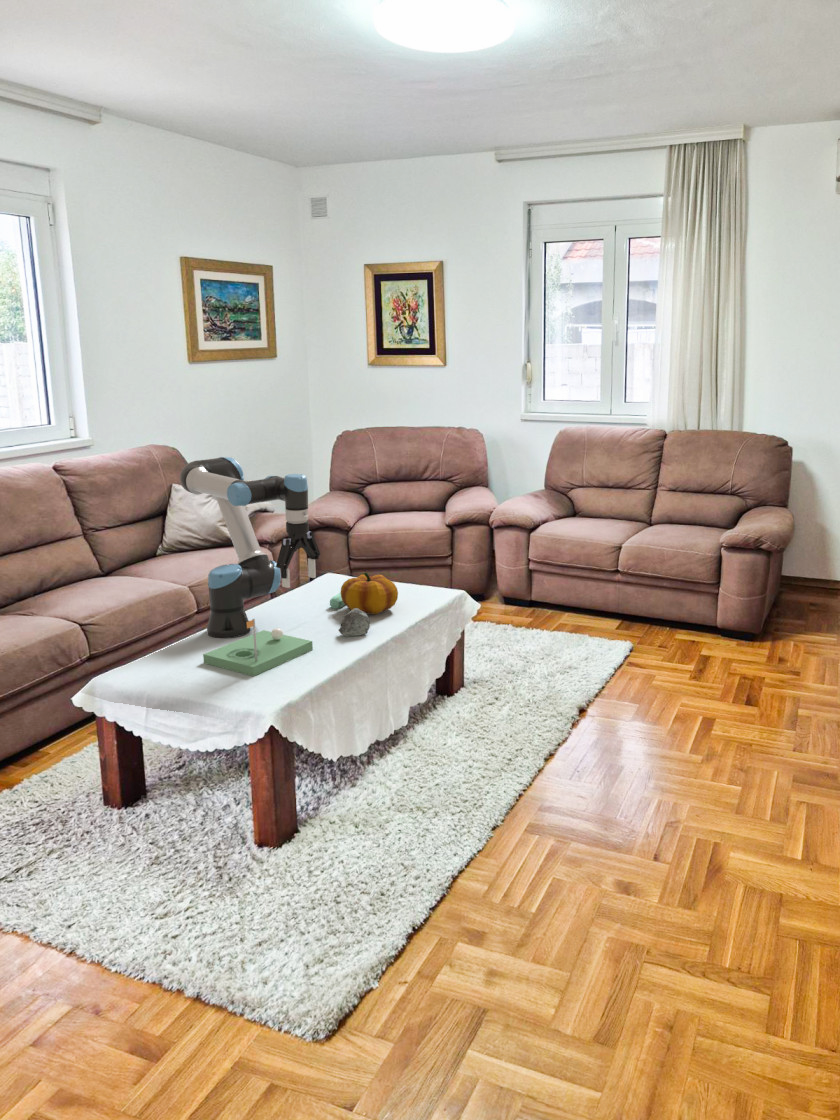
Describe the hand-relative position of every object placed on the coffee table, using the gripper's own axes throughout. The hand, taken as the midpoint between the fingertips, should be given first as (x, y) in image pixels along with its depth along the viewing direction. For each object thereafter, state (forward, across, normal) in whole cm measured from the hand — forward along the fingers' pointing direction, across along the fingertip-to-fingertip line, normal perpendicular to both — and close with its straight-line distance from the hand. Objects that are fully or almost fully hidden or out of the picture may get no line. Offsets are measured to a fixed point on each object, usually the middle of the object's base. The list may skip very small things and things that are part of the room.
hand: (299, 582), depth 310 cm
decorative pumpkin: (+21, +39, -1) cm, 44 cm away
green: (+20, -21, +1) cm, 29 cm away
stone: (+21, +15, -12) cm, 28 cm away
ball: (+16, -11, +1) cm, 19 cm away
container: (+22, +46, +14) cm, 52 cm away
